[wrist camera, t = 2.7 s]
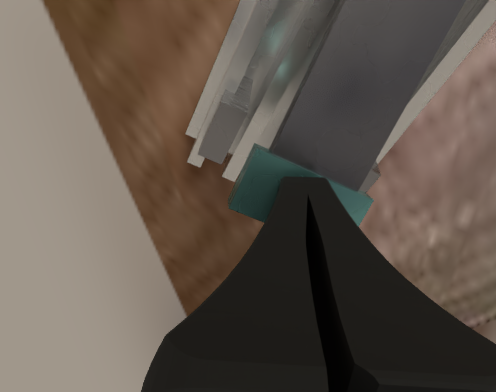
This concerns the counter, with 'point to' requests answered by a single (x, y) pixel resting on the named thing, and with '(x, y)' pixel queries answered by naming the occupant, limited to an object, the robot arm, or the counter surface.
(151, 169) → the counter surface
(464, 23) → the heat sink
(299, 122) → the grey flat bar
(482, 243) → the counter surface
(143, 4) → the counter surface
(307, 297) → the robot arm
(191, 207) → the counter surface
